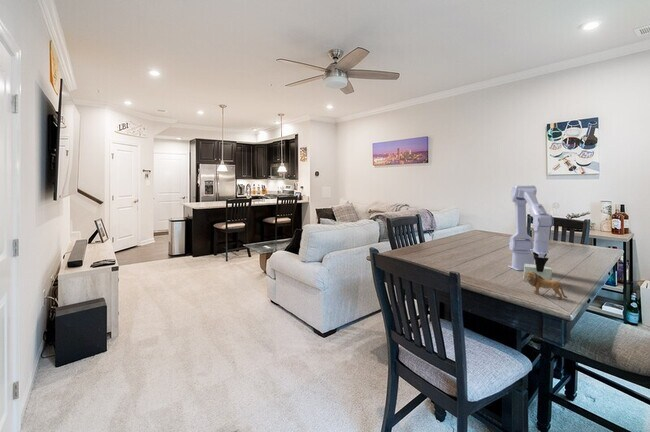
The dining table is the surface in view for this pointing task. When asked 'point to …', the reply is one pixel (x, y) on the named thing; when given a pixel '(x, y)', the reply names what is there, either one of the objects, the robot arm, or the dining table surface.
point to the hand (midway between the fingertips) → (539, 269)
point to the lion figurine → (543, 284)
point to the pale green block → (532, 268)
